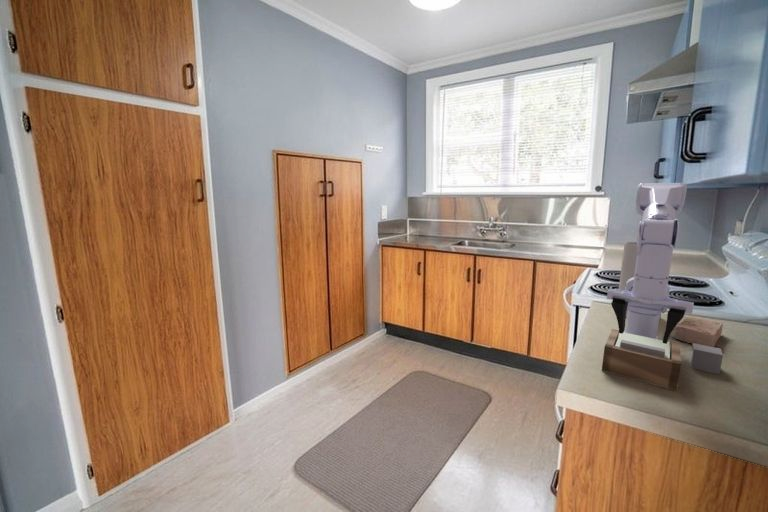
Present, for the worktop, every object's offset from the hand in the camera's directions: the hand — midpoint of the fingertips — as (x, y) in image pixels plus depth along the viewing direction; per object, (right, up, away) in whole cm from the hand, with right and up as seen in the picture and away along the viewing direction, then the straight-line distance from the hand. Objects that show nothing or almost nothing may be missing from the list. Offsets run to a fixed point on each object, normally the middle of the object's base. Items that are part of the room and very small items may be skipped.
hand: (642, 336), depth 75 cm
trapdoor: (+5, -4, +6) cm, 9 cm away
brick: (+36, -7, +26) cm, 45 cm away
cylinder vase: (+32, -3, +44) cm, 55 cm away
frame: (+4, -9, +7) cm, 12 cm away
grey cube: (+21, -9, +8) cm, 24 cm away
